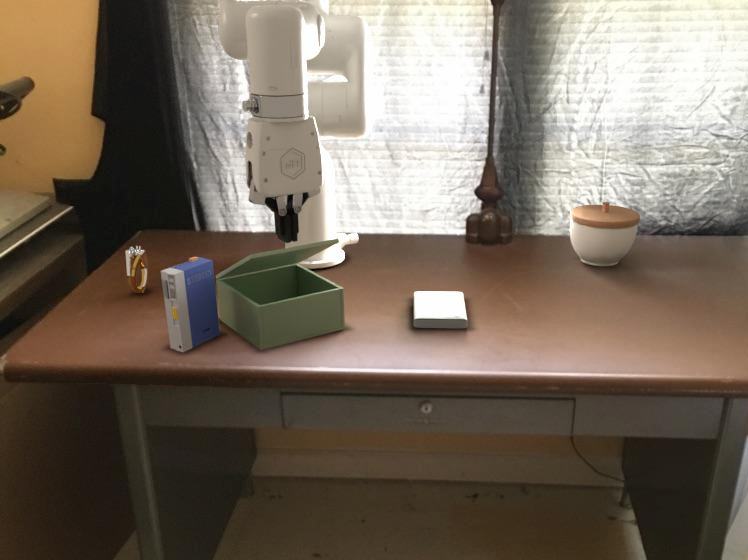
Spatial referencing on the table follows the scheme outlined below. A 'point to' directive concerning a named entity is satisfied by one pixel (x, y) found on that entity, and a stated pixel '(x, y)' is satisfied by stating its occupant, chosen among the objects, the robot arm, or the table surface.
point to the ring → (132, 272)
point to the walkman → (190, 303)
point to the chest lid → (276, 258)
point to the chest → (280, 305)
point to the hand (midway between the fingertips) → (287, 239)
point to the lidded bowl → (603, 233)
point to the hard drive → (439, 310)
